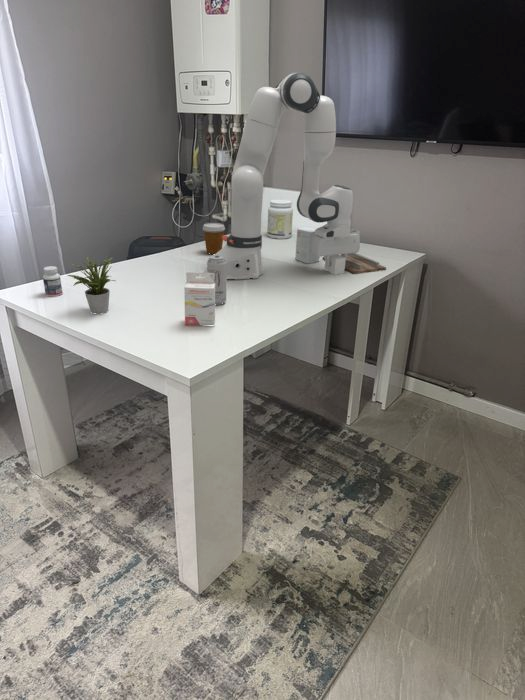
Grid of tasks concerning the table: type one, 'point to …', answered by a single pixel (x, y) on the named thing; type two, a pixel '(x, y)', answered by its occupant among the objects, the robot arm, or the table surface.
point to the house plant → (96, 286)
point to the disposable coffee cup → (213, 237)
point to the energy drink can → (218, 276)
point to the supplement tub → (280, 219)
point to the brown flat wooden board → (360, 264)
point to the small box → (305, 245)
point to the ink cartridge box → (199, 299)
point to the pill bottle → (52, 282)
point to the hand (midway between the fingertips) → (334, 265)
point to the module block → (336, 264)
